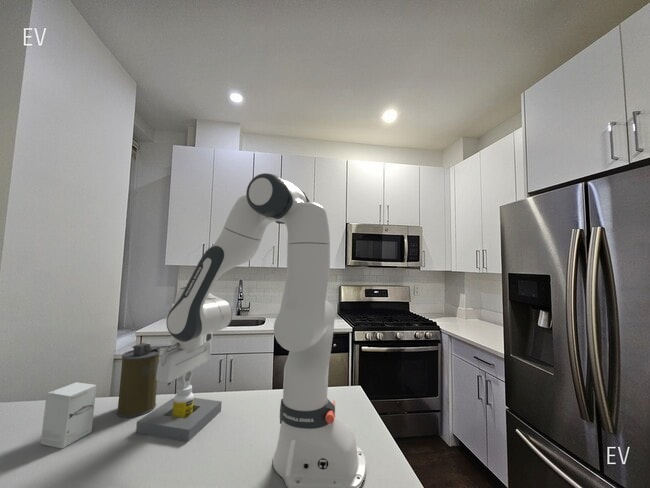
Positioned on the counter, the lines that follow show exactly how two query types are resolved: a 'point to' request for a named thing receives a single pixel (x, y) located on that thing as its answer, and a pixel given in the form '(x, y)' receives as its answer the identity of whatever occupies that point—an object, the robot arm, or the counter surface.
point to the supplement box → (68, 414)
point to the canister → (138, 381)
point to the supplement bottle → (183, 402)
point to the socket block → (178, 420)
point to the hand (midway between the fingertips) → (184, 386)
